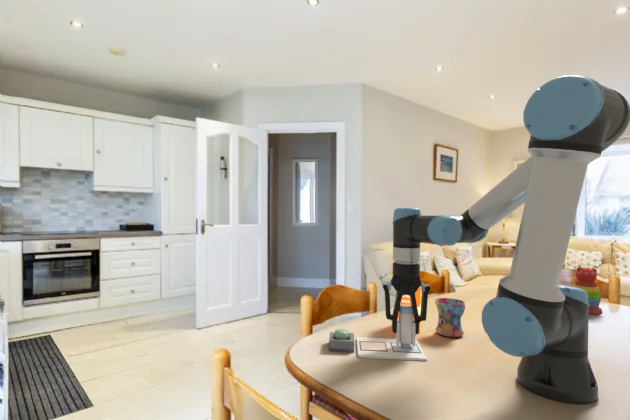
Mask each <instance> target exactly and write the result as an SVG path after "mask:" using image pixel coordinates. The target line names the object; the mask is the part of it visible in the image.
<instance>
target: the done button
mask: <svg viewBox="0 0 630 420" xmlns="http://www.w3.org/2000/svg"><path fill="white" fill-rule="evenodd" d="M334 332H335V339H343V340H348V339H349V333H350V331H349V330H348V329H345V328H344V329H343V328H339V329H335V330H334Z"/></svg>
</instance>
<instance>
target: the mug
mask: <svg viewBox="0 0 630 420" xmlns="http://www.w3.org/2000/svg"><path fill="white" fill-rule="evenodd" d="M434 303H435V305H436V309H437V313H438V320H437V321H438V322H437V326H436V327H435V332H436V333H438V334H439V335H441V336H445V337H449V338H450V337H451V338H460V337H463V335H465V334H464V331H463V327H462V316H463V315H464V313H465V309H466V306H465V305H466V302H465V301H464V300H461V299H457V298H453V297H452V298H451V297H450V298H449V297H438V298H435V299H434Z"/></svg>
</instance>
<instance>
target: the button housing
mask: <svg viewBox="0 0 630 420" xmlns="http://www.w3.org/2000/svg"><path fill="white" fill-rule="evenodd" d="M336 351H338V352H337V353H339V352H340V353H355V333H354V332H349V339H348V340H343V339H335V331H330V332H329V340H328V352H336Z"/></svg>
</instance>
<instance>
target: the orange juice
mask: <svg viewBox="0 0 630 420" xmlns="http://www.w3.org/2000/svg"><path fill="white" fill-rule="evenodd" d="M415 296H416V303H417V309H418V314H419V316H420V311H421V297H422V290H421V287H419V289H418V290H417V291H416V293H415ZM400 305H411V300H410V296H409V295H403V296H402V299H401V304H400ZM397 320H399V314H398V319H397ZM413 320H414V317H413ZM421 329H422V321H421V322H420V323H419V334H420V333H421Z"/></svg>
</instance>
